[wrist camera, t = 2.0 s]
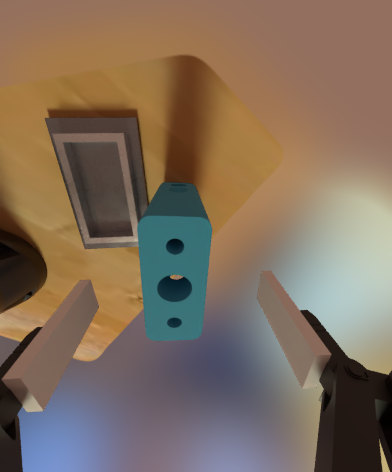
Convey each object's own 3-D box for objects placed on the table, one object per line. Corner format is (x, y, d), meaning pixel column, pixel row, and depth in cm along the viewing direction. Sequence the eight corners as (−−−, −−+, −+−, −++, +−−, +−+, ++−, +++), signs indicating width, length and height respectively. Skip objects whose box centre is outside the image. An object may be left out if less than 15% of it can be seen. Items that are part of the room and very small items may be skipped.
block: (163, 175, 30) (136, 215, 12) (194, 176, 30) (213, 217, 12) (164, 241, 35) (146, 341, 17) (190, 242, 35) (201, 339, 17)
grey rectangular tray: (87, 246, 34) (79, 254, 31) (49, 119, 26) (33, 115, 23) (153, 243, 35) (150, 251, 32) (137, 118, 26) (132, 114, 24)
